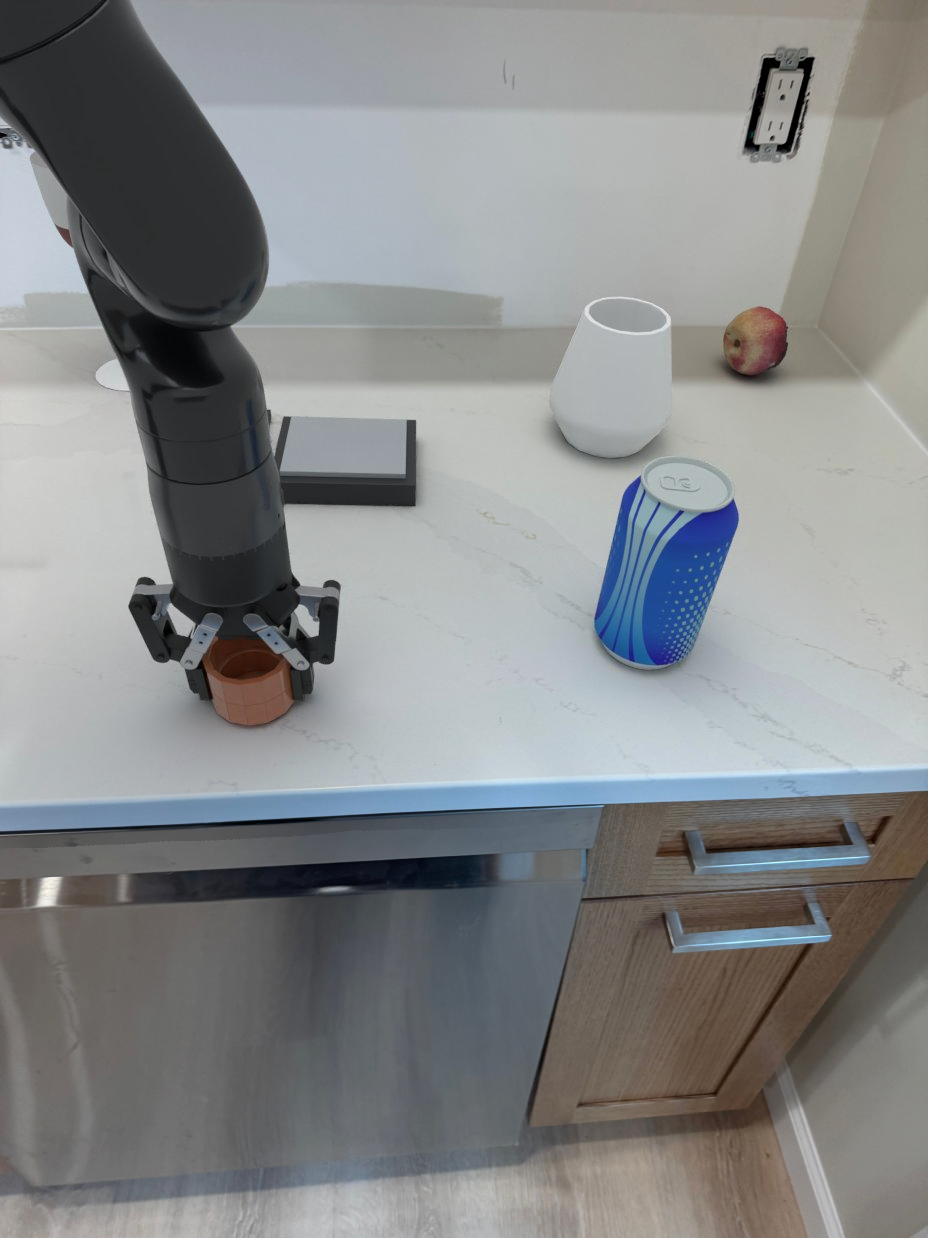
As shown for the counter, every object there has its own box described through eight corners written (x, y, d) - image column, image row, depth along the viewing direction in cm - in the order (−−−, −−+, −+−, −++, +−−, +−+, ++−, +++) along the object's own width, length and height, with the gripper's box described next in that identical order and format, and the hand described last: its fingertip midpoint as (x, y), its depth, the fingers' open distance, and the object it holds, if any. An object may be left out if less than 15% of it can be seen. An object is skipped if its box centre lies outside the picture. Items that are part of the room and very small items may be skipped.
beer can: (631, 591, 73) (673, 435, 62) (711, 642, 69) (771, 485, 58) (570, 636, 69) (604, 476, 57) (652, 693, 65) (705, 533, 53)
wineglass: (76, 387, 93) (9, 164, 77) (117, 348, 100) (63, 136, 84) (153, 398, 92) (101, 174, 76) (189, 357, 99) (148, 145, 83)
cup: (529, 450, 89) (545, 326, 79) (561, 394, 98) (579, 277, 88) (651, 481, 86) (683, 356, 76) (673, 419, 95) (704, 301, 85)
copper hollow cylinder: (206, 730, 60) (194, 685, 56) (221, 665, 64) (211, 620, 61) (292, 730, 60) (286, 685, 57) (301, 666, 65) (295, 621, 61)
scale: (271, 503, 80) (267, 476, 77) (285, 436, 88) (282, 410, 86) (415, 506, 80) (415, 479, 78) (416, 439, 89) (416, 414, 87)
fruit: (713, 354, 108) (730, 293, 102) (772, 361, 107) (793, 300, 102) (718, 382, 102) (736, 320, 96) (780, 390, 102) (802, 327, 96)
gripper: (82, 550, 47) (145, 731, 59) (335, 554, 48) (348, 732, 60) (116, 475, 52) (168, 655, 64) (343, 480, 53) (354, 656, 65)
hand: (255, 691), depth 62 cm, fingers closed on copper hollow cylinder, 6 cm apart
